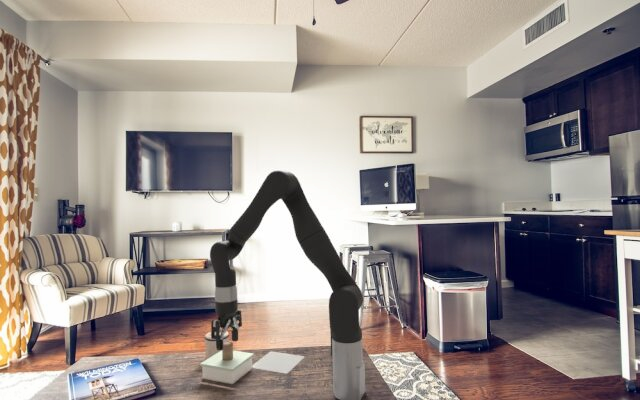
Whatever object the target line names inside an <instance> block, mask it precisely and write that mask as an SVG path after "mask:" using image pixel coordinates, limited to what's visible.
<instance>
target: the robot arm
mask: <svg viewBox="0 0 640 400" xmlns="http://www.w3.org/2000/svg"><path fill="white" fill-rule="evenodd" d="M279 200H281V201H282V202H283V203H284V204H285V206H286V208H287V210H288V212H289V214H290V216H291V219H292V224H293V229H294V233H295V238H296V240H297V242H298V243H299V246H300V247H301V248H300V249H301V250H302V251H303V253H304V255H305V257H307V259H308V260H309V261H310V262H311V263H312V264H313V265H314V266H315V267H316V269H318V270H319V271H320V273H322V275H323V276H324V277H325V279H326V280H327V282H328V284H329V287H330V288H331V290H332V292H331V294H330V297H329V299H328V315H329V316H328V317H329V329H330V330H331V332H332V352H333V356H332V383H333V384H332V387H333V388H332V389H333V390H332V391H333V396H334V397H335V398H336V400H337V399H338V400H362V398H363V397H364V395H365V394H366V369H365V367H366V366H365V365H366V364H365V363H366V361H365V360H364V359H363V358H364V357H363V331H362V327H360V316H359V314H360V309H361V307H362V305H363V303H364V294H363V292H362V290H361V288H360V287H359V286H358V284H357V283H356V281H355V280H354V278H353V277H352V276H351V274H350V272H349V271H348V270H347V269H346V267H345V265H344V264H343V261H342V260H341V257H340V256H339V253H338V252H337V250H336V248H335V246H334V244H333V243H332V240H331V239H330V236H329V235H328V233H327V232H326V230H325V228H324V226H323V225H322V223H321V221H320V220H319V218H318V216H317V215H316V214H315V211H314V209H313V208H312V206H311V205H310V203H309V201H308V199H307V197H306V195H305V193H304V190H303V187H302V185H301V183H300V181H299V179H298V177H297V175H295V174H294V173H293V172H290V171H287V170H279V169H277V170H273V171H271V172H270V173H268V175H267V176H266V178H264V181H263V183H262V184H261V186H260V187H259V189H258V191H257V192H256V194H255V196H254V198H253V199H252V200H251V203H250V204H249V205H248V207H247V208H246V209H245V210H244V212H243V213H242V214H241V215H240V216H239V218H238V219H237V220H236V221H235V222H234V224H233V225H231V227H230V229H229V230H228V237H227V239H225V240H223V241H217V242H214V243H213V244H212V245H211V248H210V251H209V258H210V261H211V266H212V269H213V272H214V277H215V278H214V280H215V281H214V282H215V285H214V287H215V288H214V289H215V290H214V307H215V309H214V310H215V314H216V315H217V319H216V320H214V319H213V320H211V323H210V324H211V328H210V332H211V338H212V339H216V348H217V350H223V336H224V333H226V331H227V332H228V329H231V342H238V341H239V330H240V328H241V327H243V320H242V318H243V317H242V310H240V309H239V307H238V306H239V305H238V301H239V300H238V287H237V273H236V270H235V268H233V267H231V266H230V262H229V261H231V260H234V259H235V258H237V257H238V256H239V255H240V254H241V252H242V250H243V248H244V247H245V245H246V242H247V241H248V240H249V239H250V238H251V237H252V236H253V234H254V233H255V232H257V230H258V229H259V228H260V225H261V223H262V221H263V218H264V216H265V214H267V212H268V210H269V209H271V207H272V206H273V205H274V204H275V203H277V202H278V201H279ZM215 332H216V335H215ZM220 332H221V335H220ZM331 332H330V333H331Z"/></svg>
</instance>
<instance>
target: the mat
mask: <svg viewBox="0 0 640 400" xmlns="http://www.w3.org/2000/svg"><path fill="white" fill-rule="evenodd" d="M305 357H306V356H304V355H298V354H293V353H292V354H291V353H286V352H285V353H283V352H280V351H279V352H277V351H269V352H267V353H266V354H265V355H264V356H263V357H261V358H260V359H259V360H257V361H256V362H255V363H252V368H253V369H256V370H260V371H261V370H262V371H267V372H268V371H269V372H272V373H273V372H274V373H281V374H285V375H287V374H289V373H290V372H291V371H292V370H293V369H294V368H295V367H296V366H297V365H298V364H299V363H300V362H301V361H303V359H304V358H305Z"/></svg>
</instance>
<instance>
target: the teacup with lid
mask: <svg viewBox="0 0 640 400" xmlns="http://www.w3.org/2000/svg"><path fill="white" fill-rule="evenodd" d="M215 335H216V332H215ZM220 335H221V332H220ZM229 336H230V334H229V331H228V330H227V331H226V333H224V336H223V343H226V342H230V339H229ZM204 340H205V360H207V359H208V358H210V357H212V356H213V355H215V354H216V353H218V352H220V351H221V350H217V348H216V339H212V338H211V331H209V332H207V333H206V334H205V335H204Z"/></svg>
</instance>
